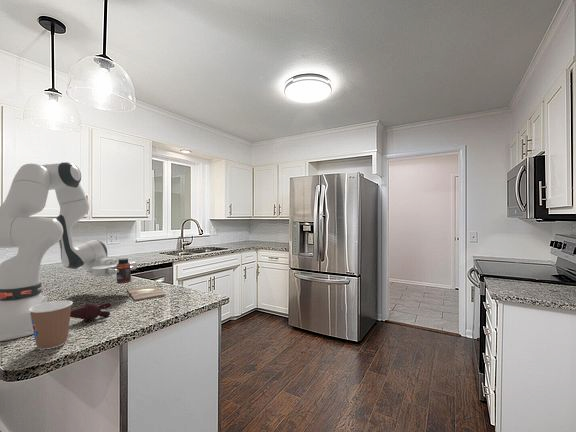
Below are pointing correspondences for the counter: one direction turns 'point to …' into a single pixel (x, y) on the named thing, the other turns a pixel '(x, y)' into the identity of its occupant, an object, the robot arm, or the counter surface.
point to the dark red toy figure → (90, 311)
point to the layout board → (145, 292)
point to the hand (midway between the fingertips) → (124, 269)
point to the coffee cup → (51, 323)
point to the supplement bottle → (123, 271)
